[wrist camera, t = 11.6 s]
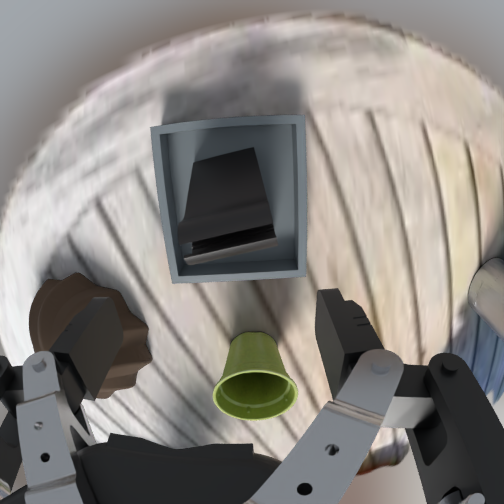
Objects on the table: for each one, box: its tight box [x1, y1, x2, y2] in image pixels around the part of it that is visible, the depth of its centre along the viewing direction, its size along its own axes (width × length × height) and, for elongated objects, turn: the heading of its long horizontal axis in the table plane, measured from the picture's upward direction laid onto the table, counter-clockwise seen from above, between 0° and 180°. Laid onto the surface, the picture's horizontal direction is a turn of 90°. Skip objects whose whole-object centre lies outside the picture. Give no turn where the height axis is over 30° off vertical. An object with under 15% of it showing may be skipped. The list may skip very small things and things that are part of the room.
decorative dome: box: [29, 273, 152, 399], centre depth 33 cm, size 19×20×10 cm
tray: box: [150, 115, 307, 284], centre depth 28 cm, size 14×16×4 cm
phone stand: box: [178, 147, 278, 265], centre depth 24 cm, size 9×6×12 cm, turn 13°
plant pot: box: [213, 332, 298, 421], centre depth 34 cm, size 9×9×9 cm
